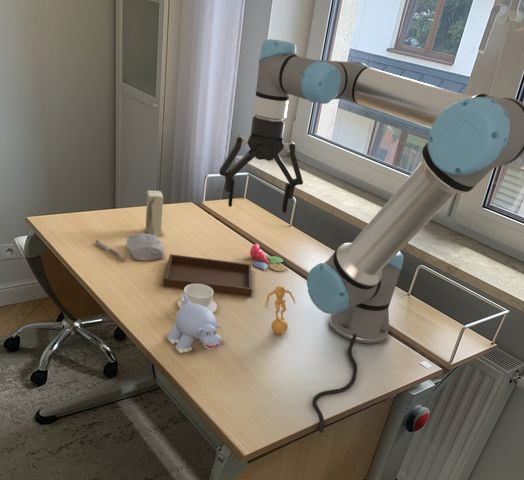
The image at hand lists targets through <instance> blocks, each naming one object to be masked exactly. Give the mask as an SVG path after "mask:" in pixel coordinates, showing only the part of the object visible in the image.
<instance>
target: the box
mask: <svg viewBox="0 0 524 480" xmlns="http://www.w3.org/2000/svg"><path fill="white" fill-rule="evenodd" d="M163 207H164V196H163V193H162V190H147V191H146V215H145V231H146V234H151V235H155V234H157V236H161V235H162V226H163V225H162V223H163V210H164V209H163Z"/></svg>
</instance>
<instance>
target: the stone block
mask: <svg viewBox="0 0 524 480" xmlns="http://www.w3.org/2000/svg"><path fill="white" fill-rule="evenodd" d="M126 249H127V253H128V255H129V257H131V258H132V259H134V260H139V261H144V262H145V261H156V260H157V261H158V260H162V259H163V258H164V246H163V243H162V242H161V241H160V239H159V235H157V234H155V235H151V234H147V233H142V232H141V233H135V234H130V235H129V236H127V237H126Z"/></svg>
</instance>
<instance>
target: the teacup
mask: <svg viewBox="0 0 524 480" xmlns="http://www.w3.org/2000/svg"><path fill="white" fill-rule="evenodd" d="M214 293H215V292H214V291H213V289H212V288H211V287H209V286H207V285H204V284H190V285H187V286H186V287H185V288H184V289H183V294H185V295H187V297H188V299H189V301H190V302H191V303H196V304H199V305H202V306H204V307H206V308H208V309H209V310H210V311H211V312H212V313H213V314H214V313H215V312H216V311H217V309H218V305H217V303H216V302H215V301H214V300H213V297H214ZM183 305H185V302H184V295H181V294H179V297H178V301H177V307H178V309H180V308H181V307H182V306H183Z"/></svg>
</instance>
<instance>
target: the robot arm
mask: <svg viewBox="0 0 524 480" xmlns="http://www.w3.org/2000/svg"><path fill="white" fill-rule="evenodd" d="M290 96H294V97H297V98H300V99H303V100H307V101H309V102H310V103H317V104H323V105H324V104H325V105H326V104H329V103H331V101H333V100H345V101H346V102H347V101H348V102H350V103H354V104H357V105H360V106H363V107H366V108H369V109H372V110H375V111H377V112H381V113H384V114H387V115H390V116H393V117H396V118H399V119H402V120H404V121H408V122H411V123H413V124H416V125H419V126H422V127H425V128H428V129H430V130H429V134H428V138H429V139H428V141H427V142H426V144H425V145H424V146H423V147H422V149H421V151H420V155H421V162H420V163H419V164H418V166H416V168H415V169H414V170H413V172H412V173H411V174H410V175H409V176H408V177H407V179H406V180H405V181H404V182H403V183H402V184H401V185H400V187H399V188H398V189H397V190H396V191H395V193H394V194H392V196H391V197H390V198H389V199H388V201H386V203H385V204H384V205H383V206H382V207H381V208H380V210H379V211H378V212H376V214H375V215H374V216H373V218H372V219H371V220H370V221H369V222H368V223H367V225H366V226H365V227H364V228H363V229H362V230H361V231H360V233H359V234H357V236H356V237H355V238H354V239H353V241H352V242H344V243H342V244H340V245H339V246H338V248H337V249H336V250H335V251H334V252H333V253H332V254H331V255H330V257H329V258H328V259H327V260H326V261H324V262H321V263H318V264H316V265H315V266H313V267H312V268H311V269H310V270H309V272H308V273H307V278H306V287H307V293H308V296H309V298H310V300H311V302H312V304H313V305H314V306H315V307H316V308H317V309H318V310H320V311H321V312H322V313H325V314H328V315H331V316H330V319H329V325H330V327H331V329H332V331H334V332H335V333H336V334H337V335H339V336H340V337H342V338H344V339H346V340H348V341H350V343H349V344H348V347H347V348H348V349H347V356H348V359H349V361H350V363H351V365H352V376H351V379H350V381H349V382H348V383H347V384H346V385H344V386H343V387H341V388H336V389H329V390H324V391H321V392H318V393H317V394H316V395H315V396H314V397H313V399H312V403H311V404H312V408H313V409H314V411H315V413H316V414H317V417H318V421H319V425H318V426H319V427H318V432H319V433H320V434H321V433H324V430H325V419H324V415H323V413H322V410H321V409H320V407H319V406H318V403H317V402H318V401H319V399H320V398H322V397H324V396H329V395H336V394H340V393H343V392H346V391H348V390H349V389H350V388H351V387H352V386H353V385H354V384H355V382H356V379H357V374H358V366H357V362H356V360H355V359H354V356H353V347H354V345H355V343H359V344H364V345H365V344H366V345H368V344H369V345H373V344H378V343H382V342H384V341H385V340H386V339H387V337H388V334H389V332H390V316H389V315H390V314H389V313H390V311H389V309H390V305H391V301H392V299H393V295H394V292H395V289H396V286H397V283H398V280H399V277H400V274H401V271H402V269H403V263H404V258H405V257H404V254H403V253H402V252H401V250H402V249H403V248H404V247H405V246H406V245H408V243H409V242H410V241H411V240H412V239H413V238H414V237H415V236H416V235H417V234H418V233H419V232H420V231H421V230H422V229H423V228H424V227H425V226H426V225H427V224H428V223H429V222H430V221H431V220H432V219H433V218H434V217H435V216H436V215H437V213H439V212H440V211H441V210H442V208H444V206H446V204H447V203H448V202H450V200H451V199H452V198H454V196H456V195H457V194H468V193H470V192H471V191H472V190H473V189H474V188H475V187H476V186H477V185H478V184H479V183H480V182H481V181H482V180H483V179H484V178H485V177H486V176H487V175H488V174H489V173H490V172H491V171H492V170H493V169H495V168H499V167H503V166H506V165H509V164H512V163H514V162H515V161H517V160H518V159H519V158H521V157H522V156H523V155H524V102H522V101H520V100H518V99H516V98H513V97H499V96H493V95H489V94H487V93H482V92H479V93H477V94H475V95H473V96H470V95H468V94H464V93H460V92H457V91H453V90H450V89H447V88H443V87H440V86H436V85H432V84H429V83H425V82H422V81H419V80H415V79H411V78H409V77H405V76H401V75H398V74H394V73H391V72H387V71H384V70H380V69H377V68H374V67H369V66H368V65H367V64H366V63H363V62H360V61H357V60H351V61H341V60H325V59H312V58H308V57H302V56H299V55H297V46H296V44H295V43H292V42H290V41H285V40H280V39H272V38H271V39H269V38H267V39H265V40H264V41H262V44H261V50H260V55H259V59H258V69H257V81H256V90H255V97H254V105H253V114H254V116H253V117H252V120H251V129H250V135H249V137H244V136H242V135H241V134H238V135H237V136H236V139H235V142H234V146H233V147H232V149H231V150H230V152H229V153H228V155H227V157H226V158H225V160H224V162H223V163H222V165H221V166H220V168H219V176H221V177H224V178H225V187H224V190H225V192H226V193H228V203H227V204H228V207H229V208H232V207H233V197H234V190H235V189H234V188H235V176H236V175H237V174H238V172H240V171H241V170H242V169H243V168H244V167H245V166H246V165H247V164H248V163H250V161H252V160H253V159H254V158H255V159H257V160H259V161H262V160H264V161H268V162H271V161H272V160H274V161H275V162H276V164H277V165H278V168H279V169H280V171H281V172H282V174H283V176H284V177H285V179H286V181H287V182H288V183H287V182H286V183H285V187H284V193H283V194H284V195H283V199H282V205H281V211H282V213H284V214H286V213H287V208H288V203H289V200H292V199H293V198H294V192H295V187H297V186H298V185H299V186H301V185H303V184H304V181H303V177H302V174H301V169H300V167H299V164H298V160H297V156H296V144H295V143H294V141H289V142H284V132H285V127H286V126H285V125H286V122H285V119H287V113H288V106H289V99H290ZM245 145H247V146H248V148H249V150H248V151H247V152H246V153H245V154H244V155H243V156H242V157H241V158H240V159H239V160H238V161H237V162H236V163H235V164H234V165H233V166H232V167H231V168H230V166H231V165H232V163H233V162H234V160H235V158H236V156H237V155H238V154H239V152H240V151H241V148H243V147H245ZM284 149H285V152H286V153H287V154H288V155H289V158H290V161H291V165H292V169H293V172H294V175H295V178H293V176H292V174H291V173H290V171H289V169H288V168H287V166H286V164H285V163H284V161H283V159H282V157H281V156H280V153H281V152H282V151H283V150H284ZM229 168H230V169H229Z"/></svg>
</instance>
